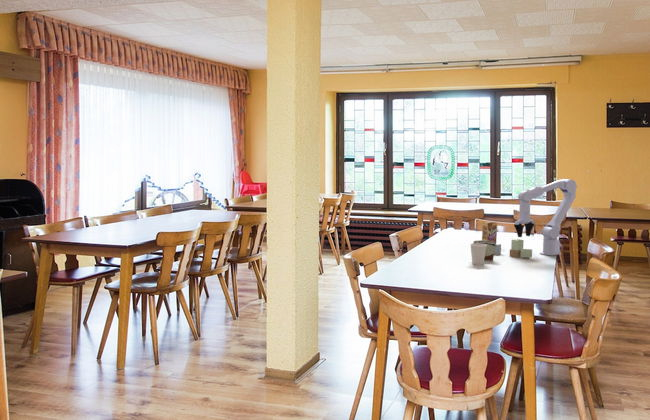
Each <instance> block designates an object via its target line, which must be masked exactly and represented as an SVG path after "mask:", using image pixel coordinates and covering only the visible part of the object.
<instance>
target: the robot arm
mask: <svg viewBox="0 0 650 420" xmlns="http://www.w3.org/2000/svg"><path fill="white" fill-rule="evenodd" d="M577 188H578V185H577V182H576V181H575V180H574V179H573V178H571V179H566V178H561V179H557V180H555V181H553V182H551V183H548V184H545V185H543V186H540V185H535V186H533V187H532V188H527V189H526V190H522V191H519V194H518V195H517V198H518V200H519V209H518V210H519V212H518V214H519V215H518V217H519V219H517V220H515V221H514V224H513V226H514V228H515V230H516V234H517V237H518V238H523V231H524V228H525V236H526V237H530V236H531V233H532V232H533V228H534V227H535V223H534V219H531V201H532V200H533V199H536V198H539V197H541V196H544V193H547V192H550V191H553V190H555V189H559V190H560V191H561V192H562V194H563V196H564V197H563V198H562V201H561V202H560V204H559V206H558V207H557V209H556V211H555V213H554V215H553V217H551V220H550V221H549V222H547V223H546V225H545V226H543V228H542V229H541V235H542V236H543V242H542V252H539V254H540V255H544V256H557V255H562V253H561V241H560V240H559V239H558V238H559V236H560V231H561V229H562V228H561V224H562V223H563V220H564V219H565V217H566V216H567V213H568V212H569V210H570V208H571V207H572V205H573V203H574V202H575V199H576V194H577V193H576V192H577Z"/></svg>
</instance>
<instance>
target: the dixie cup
mask: <svg viewBox="0 0 650 420" xmlns="http://www.w3.org/2000/svg"><path fill="white" fill-rule="evenodd" d="M469 246H470V253H471V263H473V265H478V264H479V265H480V264H481V265H484V264H485V261H484V258H485V251H486V246H487V245H486V244H480V243H470V245H469Z"/></svg>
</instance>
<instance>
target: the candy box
mask: <svg viewBox="0 0 650 420" xmlns="http://www.w3.org/2000/svg"><path fill="white" fill-rule="evenodd" d="M497 232H498V222H497V221H484V222H482V231H481V233H482V235H481V240H484V241H494V242H495V243H496V244H497V239H498V238H497Z"/></svg>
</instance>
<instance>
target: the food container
mask: <svg viewBox="0 0 650 420" xmlns="http://www.w3.org/2000/svg"><path fill="white" fill-rule="evenodd" d="M473 243H480V244H486V245H487V246H486V251H485V258H484V260H485V261H488V262H494V256H495V254H494V251H495V246H496V244H497V242H496V243H495V242H494V241H484V240H482V239H481V240H479V239H478V240H474V241H473ZM473 243H472V244H473ZM485 261H484V262H485Z"/></svg>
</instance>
